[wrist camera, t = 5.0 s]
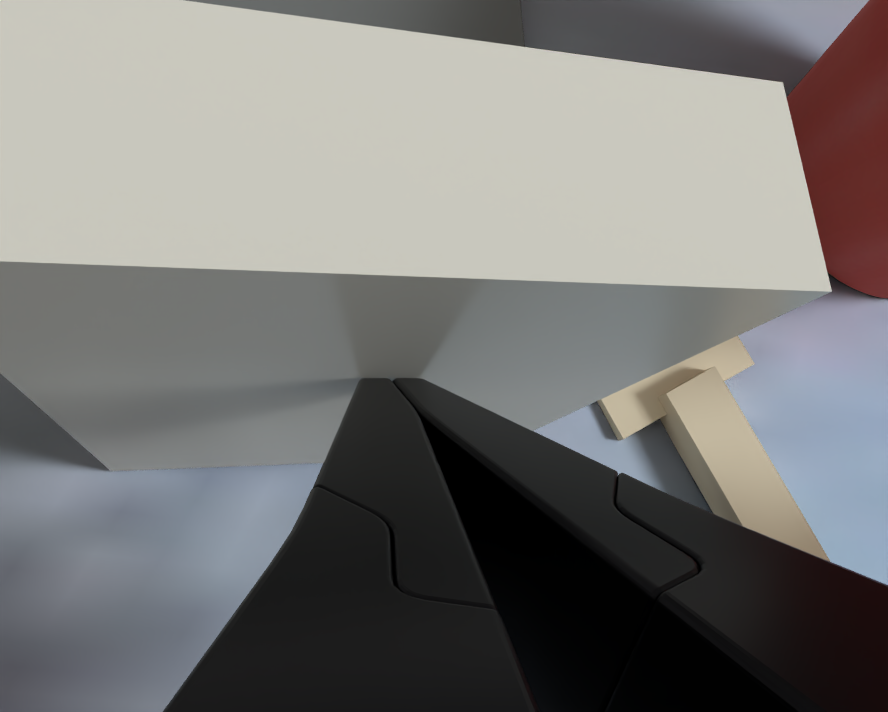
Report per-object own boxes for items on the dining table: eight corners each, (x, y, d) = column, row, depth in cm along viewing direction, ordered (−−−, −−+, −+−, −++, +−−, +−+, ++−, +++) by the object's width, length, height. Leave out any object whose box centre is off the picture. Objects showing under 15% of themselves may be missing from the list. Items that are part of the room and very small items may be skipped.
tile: (476, 457, 17) (831, 292, 7) (111, 471, 15) (-134, 256, 5) (467, 354, 18) (779, 71, 8) (116, 353, 16) (-86, -55, 5)
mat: (541, 330, 19) (551, 324, 18) (15, 322, 15) (7, 314, 15) (504, -66, 21) (512, -82, 21) (48, -150, 18) (42, -172, 17)
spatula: (978, 760, 18) (1014, 773, 18) (855, 866, 17) (887, 886, 16) (633, 183, 21) (649, 166, 20) (504, 243, 19) (514, 229, 18)
